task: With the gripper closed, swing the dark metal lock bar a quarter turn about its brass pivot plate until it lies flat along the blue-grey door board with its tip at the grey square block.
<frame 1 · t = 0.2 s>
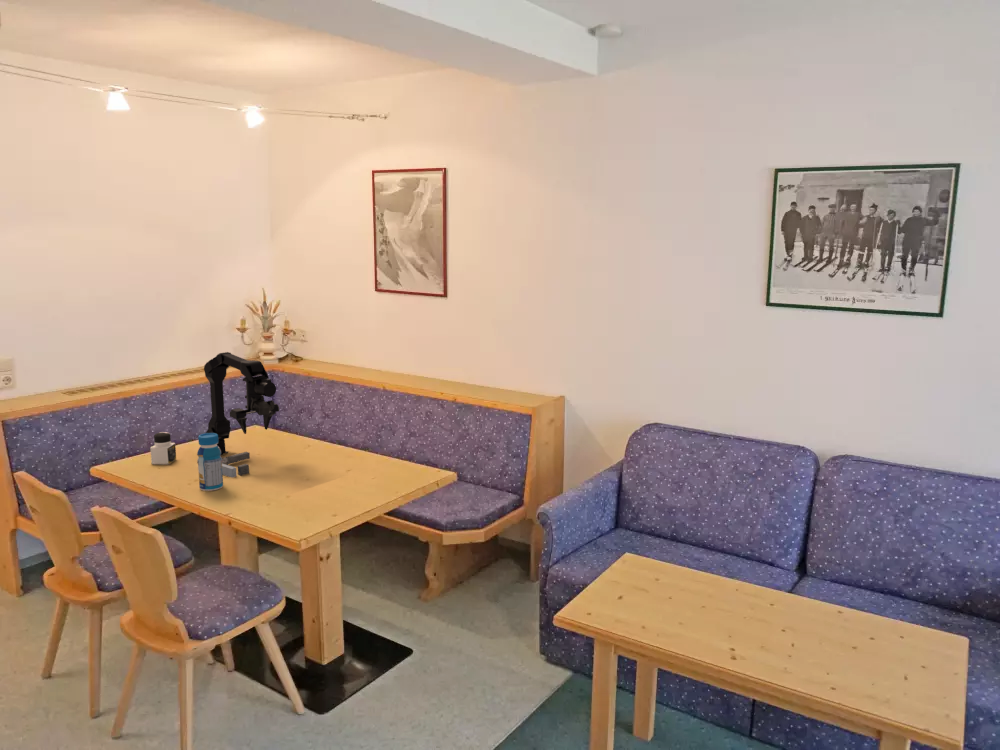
hand: (255, 431, 305), 14 cm above the table, fingers open, 9 cm apart
door board: (218, 472, 299), on the table
grey square block: (243, 473, 297), on the table
lock bar: (233, 459, 309), point 2 cm above the table, hinge at 90.0°
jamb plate: (222, 467, 305), on the table
medicine bottle: (164, 462, 312), on the table
beverage bottle: (211, 488, 281), on the table
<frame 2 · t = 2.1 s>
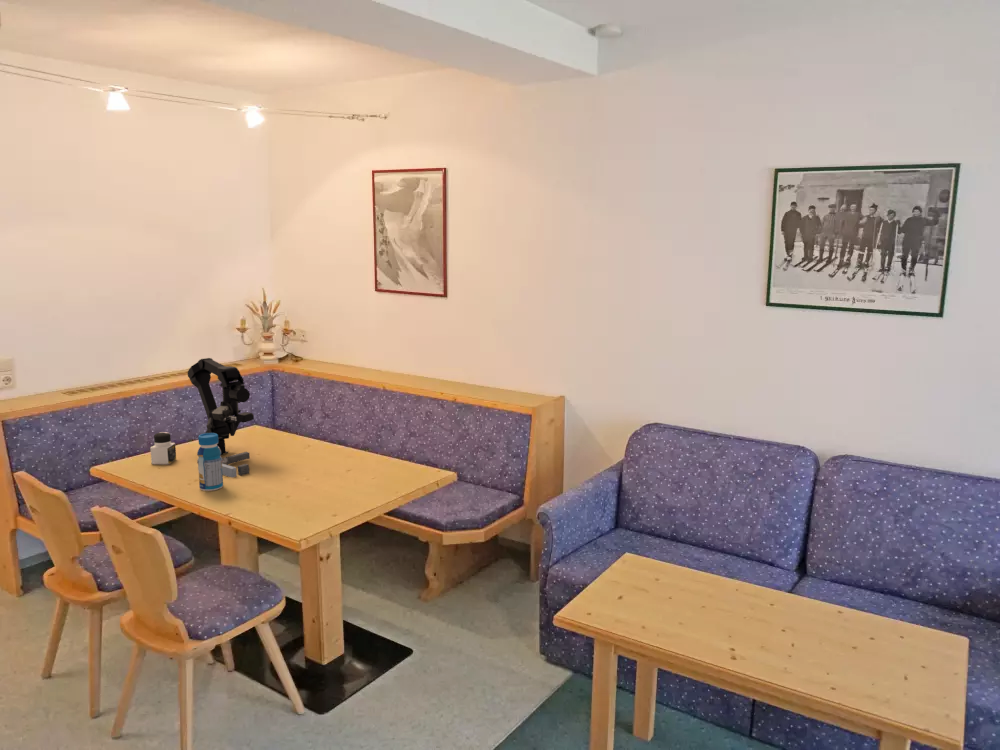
hand: (232, 435, 313), 10 cm above the table, fingers closed
nothing on the table moved.
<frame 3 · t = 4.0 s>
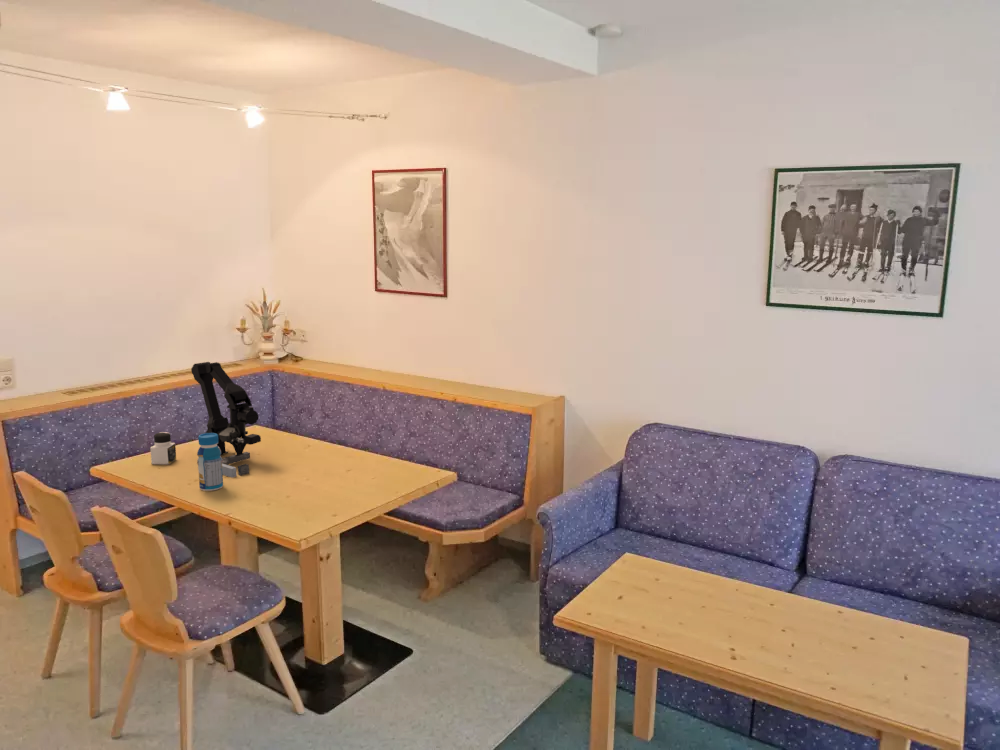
hand: (239, 457, 313), 2 cm above the table, fingers closed
lock bar: (233, 459, 309), point 2 cm above the table, hinge at 88.6°, touching gripper
everything else where it was.
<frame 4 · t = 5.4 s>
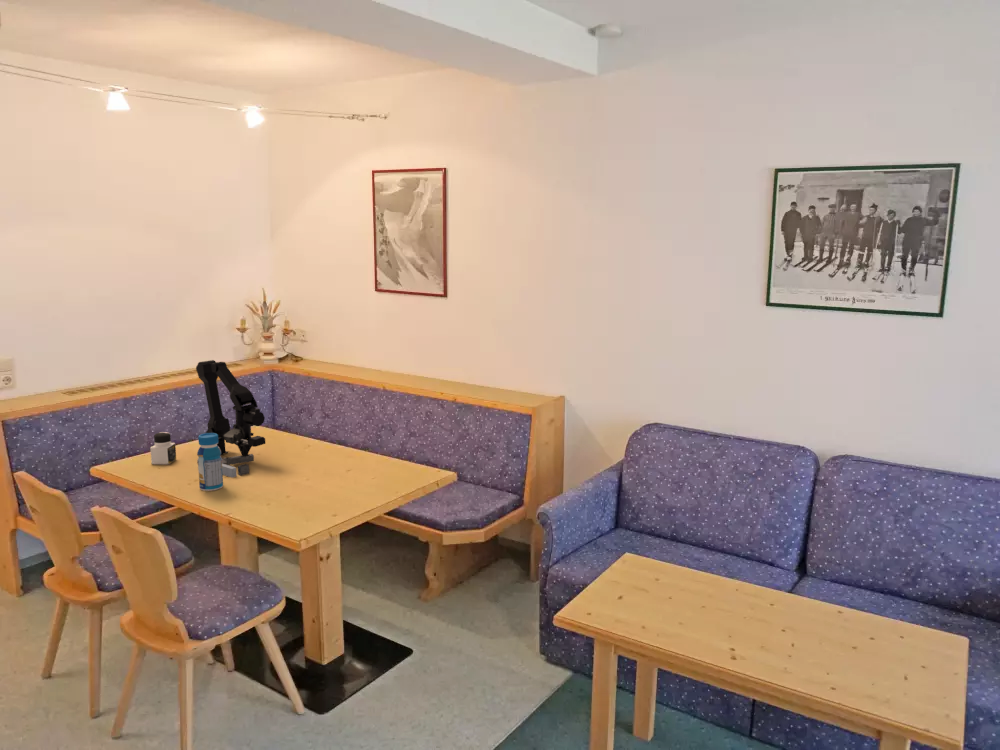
hand: (244, 458, 312), 1 cm above the table, fingers closed
lock bar: (235, 460, 307), point 2 cm above the table, hinge at 68.0°, touching gripper
everything else where it was.
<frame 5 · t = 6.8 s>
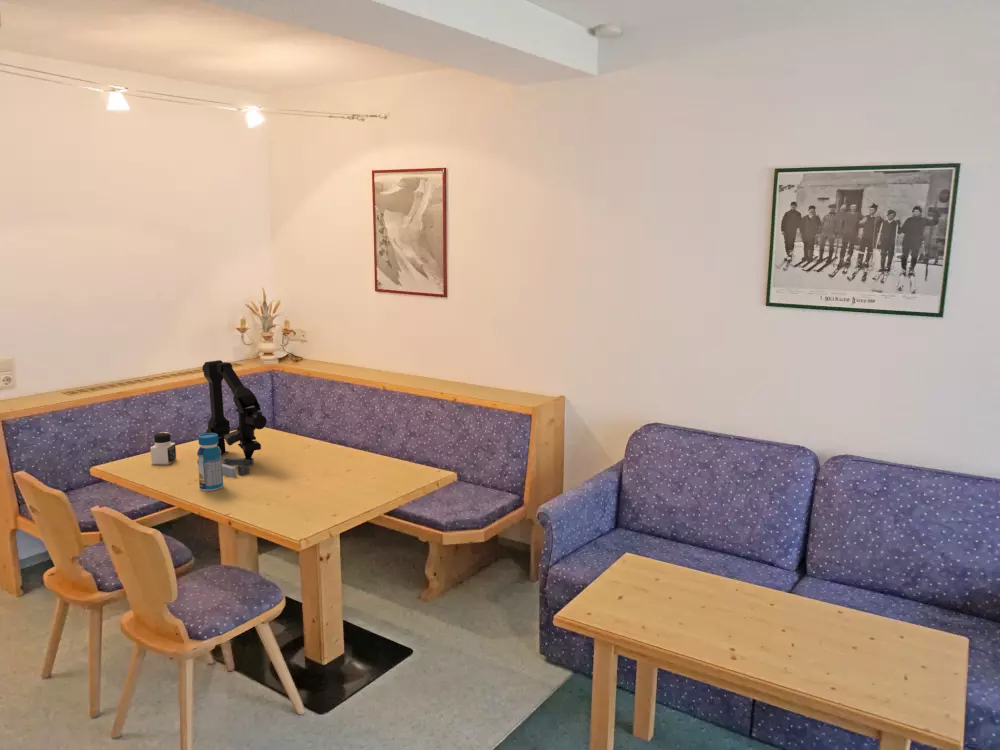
hand: (248, 461, 308), 1 cm above the table, fingers closed
lock bar: (235, 462, 305), point 2 cm above the table, hinge at 39.2°, touching gripper
everything else where it was.
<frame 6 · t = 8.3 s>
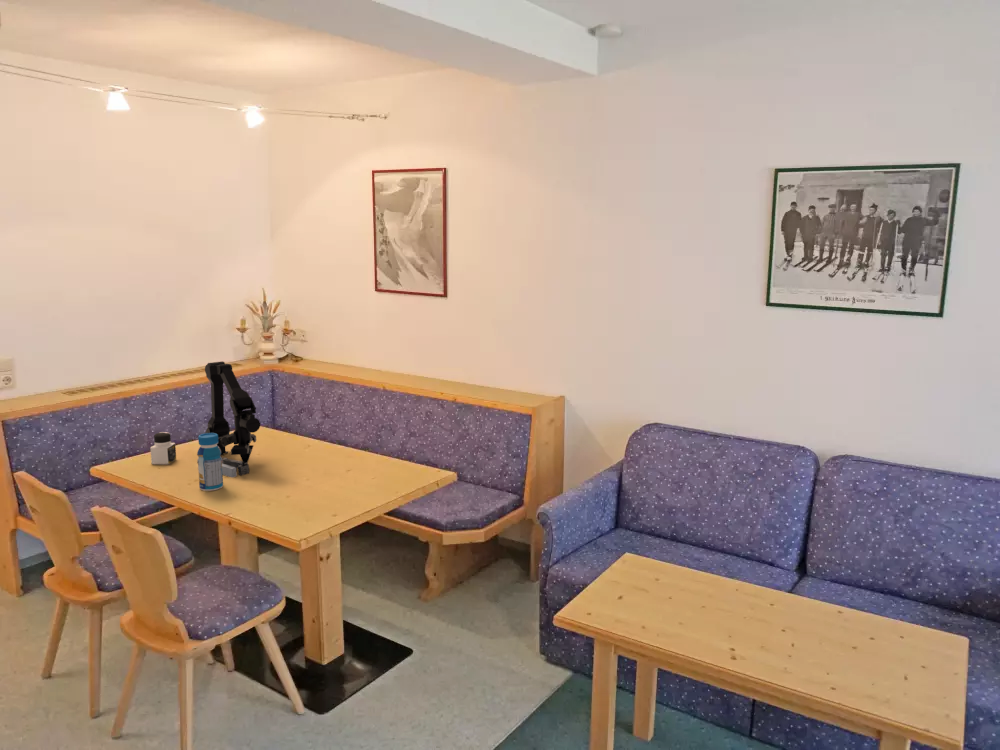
hand: (245, 465, 304), 2 cm above the table, fingers closed
lock bar: (232, 463, 303), point 2 cm above the table, hinge at 12.0°, touching gripper
everything else where it was.
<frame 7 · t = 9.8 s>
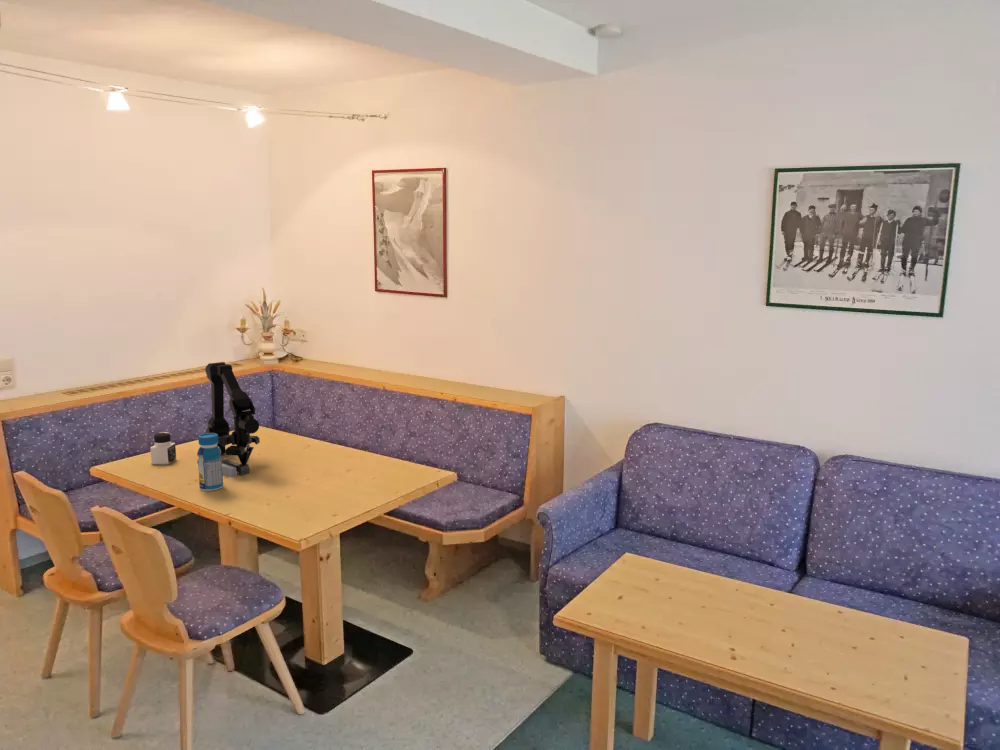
hand: (244, 466, 302), 1 cm above the table, fingers closed
lock bar: (229, 464, 302), point 2 cm above the table, hinge at -3.7°
everything else where it was.
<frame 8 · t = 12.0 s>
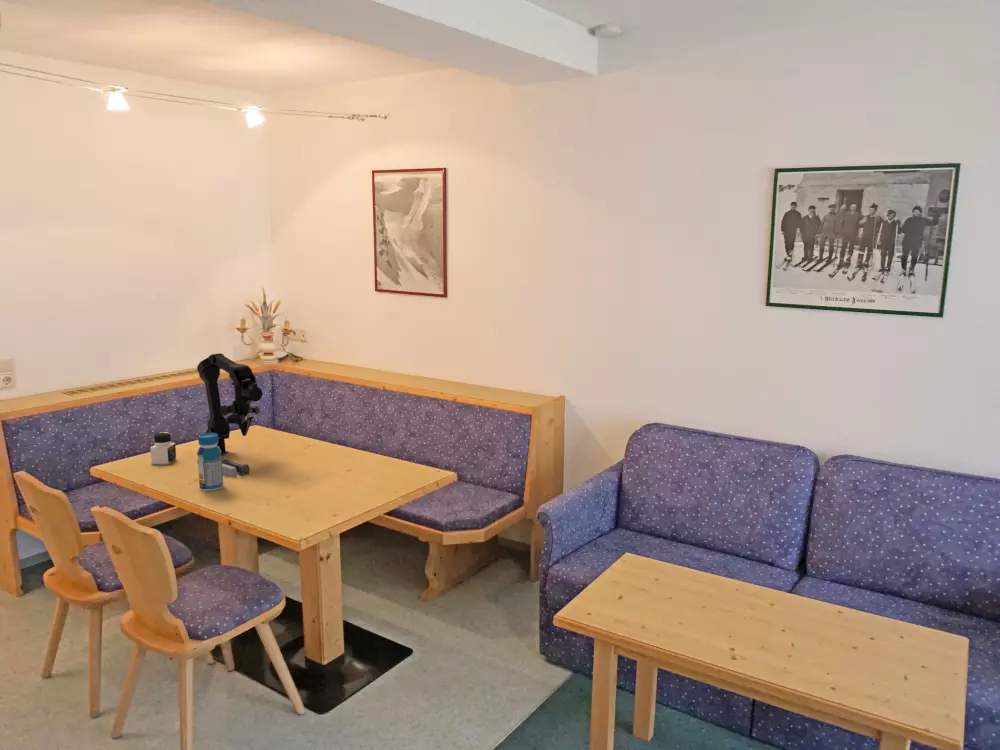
hand: (244, 435, 307), 12 cm above the table, fingers closed
nothing on the table moved.
at the end: lock bar at -4° (first picture: +90°) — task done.
